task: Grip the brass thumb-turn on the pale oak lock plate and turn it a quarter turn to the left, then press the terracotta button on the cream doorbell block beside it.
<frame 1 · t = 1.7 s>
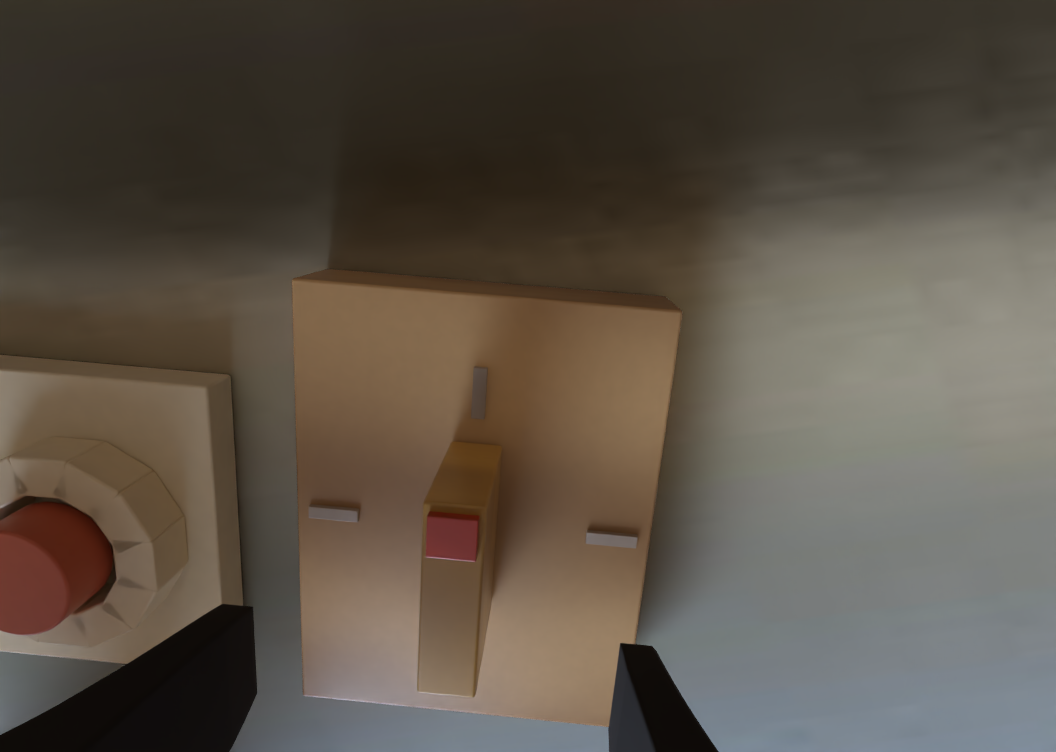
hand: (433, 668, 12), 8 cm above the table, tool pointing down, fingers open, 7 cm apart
thumb turn: (461, 563, 16), point 4 cm above the table, hinge at 0.0°
bell block: (121, 507, 21), on the table
lock plate: (482, 485, 20), on the table
bell button: (36, 567, 17), point 4 cm above the table, slide at 0.1 cm
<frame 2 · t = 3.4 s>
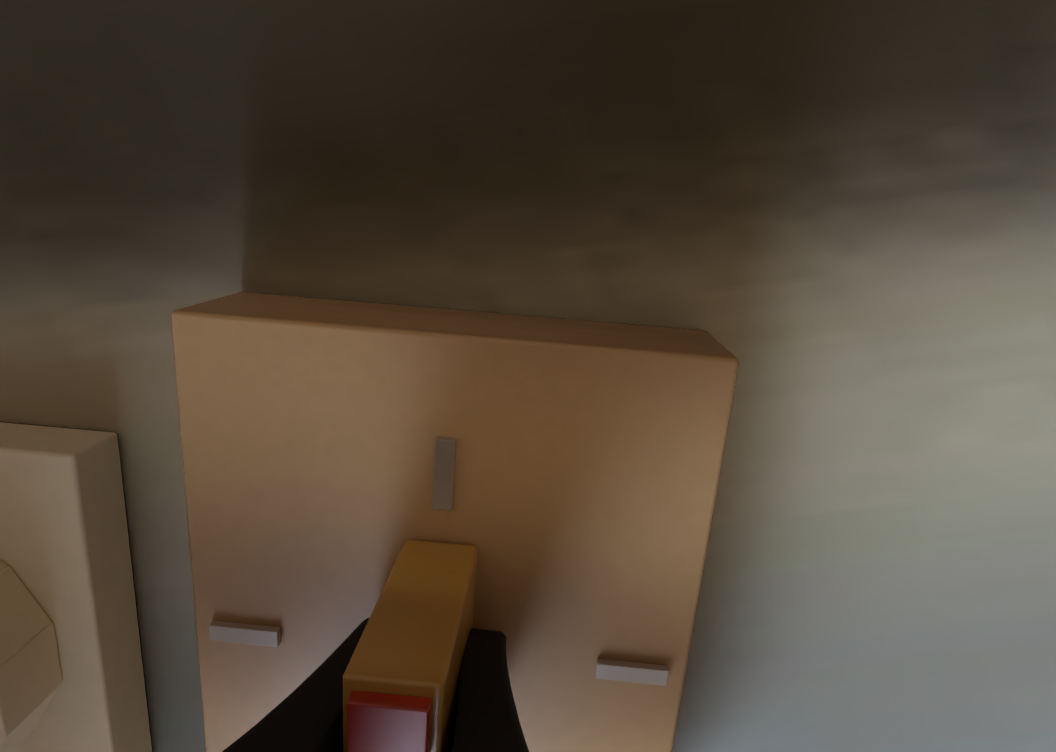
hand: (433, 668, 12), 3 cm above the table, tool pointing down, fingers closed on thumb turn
thumb turn: (415, 729, 11), point 4 cm above the table, hinge at 0.0°, touching gripper
lock plate: (457, 578, 15), on the table
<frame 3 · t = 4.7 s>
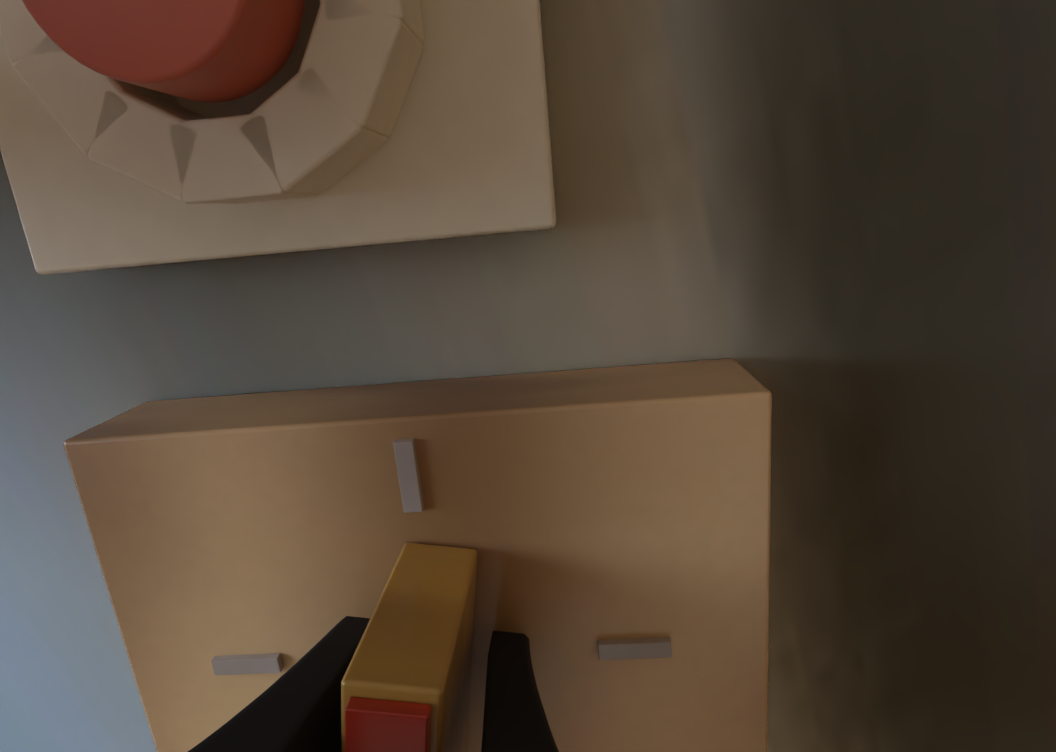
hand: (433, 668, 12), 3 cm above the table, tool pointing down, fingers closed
thumb turn: (414, 734, 11), point 4 cm above the table, hinge at 80.6°
bell block: (278, 34, 12), on the table
lock plate: (457, 580, 15), on the table
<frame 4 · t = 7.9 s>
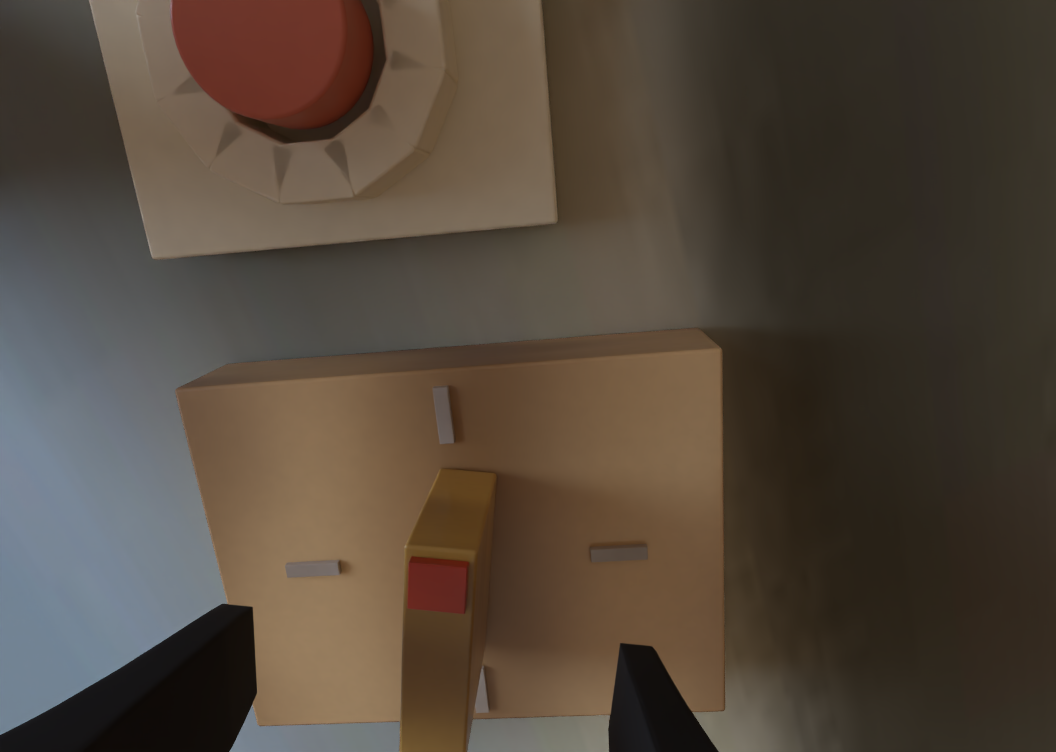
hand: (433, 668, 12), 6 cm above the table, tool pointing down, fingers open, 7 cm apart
thumb turn: (450, 607, 14), point 4 cm above the table, hinge at 80.6°
bell block: (341, 72, 15), on the table
lock plate: (476, 512, 18), on the table
bell button: (278, 34, 12), point 4 cm above the table, slide at 0.1 cm
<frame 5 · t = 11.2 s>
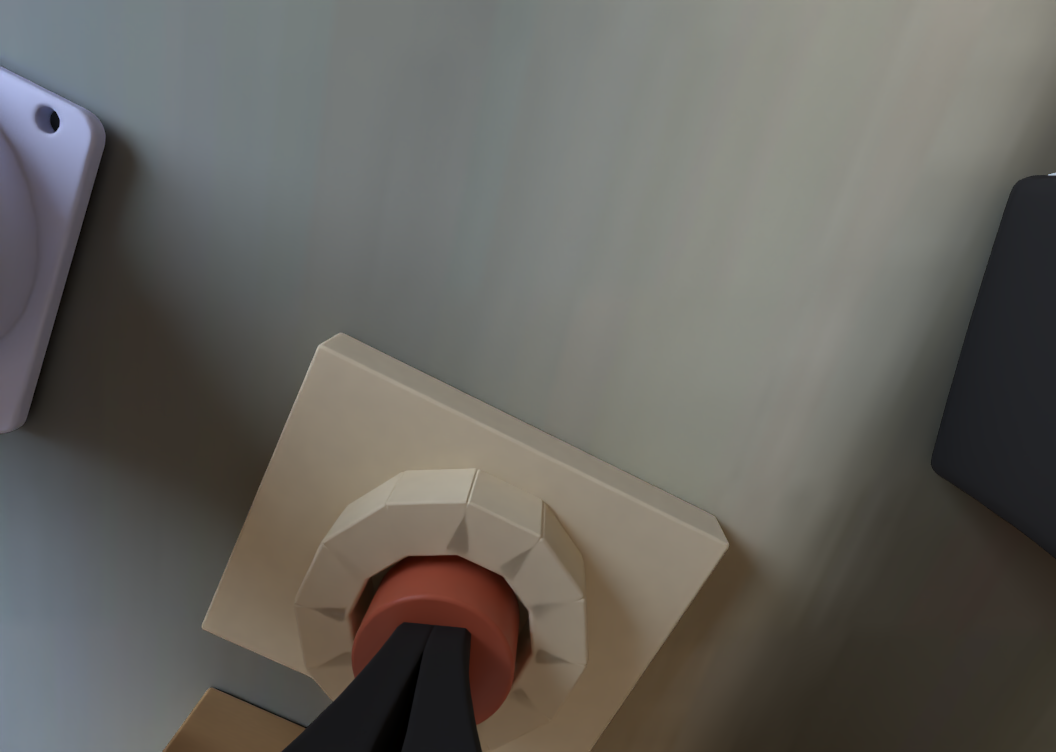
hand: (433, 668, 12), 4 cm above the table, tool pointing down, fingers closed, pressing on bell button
battery charger: (1037, 337, 14), on the table
bell block: (462, 556, 16), on the table
bell button: (440, 638, 13), point 3 cm above the table, slide at -0.3 cm, touching gripper
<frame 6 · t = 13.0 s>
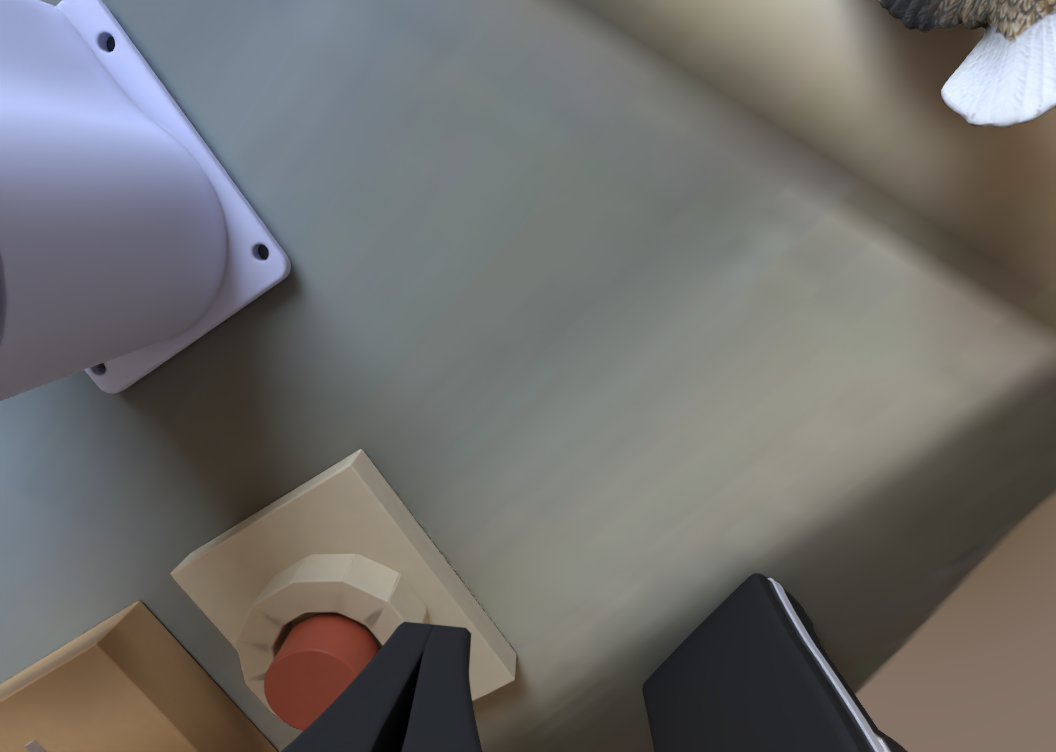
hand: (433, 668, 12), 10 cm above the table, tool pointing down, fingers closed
battery charger: (729, 646, 24), on the table
bell block: (356, 604, 23), on the table
bell button: (324, 672, 20), point 4 cm above the table, slide at 0.1 cm
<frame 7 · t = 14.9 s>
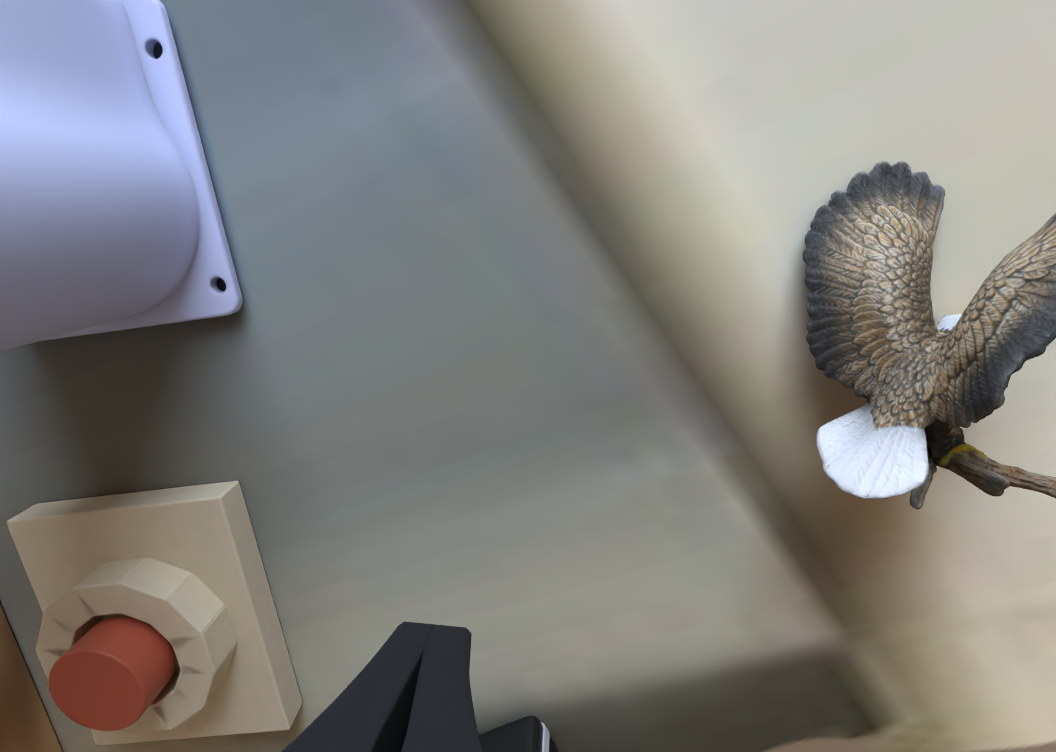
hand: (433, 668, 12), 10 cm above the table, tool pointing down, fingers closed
bell block: (175, 607, 24), on the table
eagle figurine: (890, 315, 20), on the table
bell button: (114, 672, 21), point 4 cm above the table, slide at 0.1 cm
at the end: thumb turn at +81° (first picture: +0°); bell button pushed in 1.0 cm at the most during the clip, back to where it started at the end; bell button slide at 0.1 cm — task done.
